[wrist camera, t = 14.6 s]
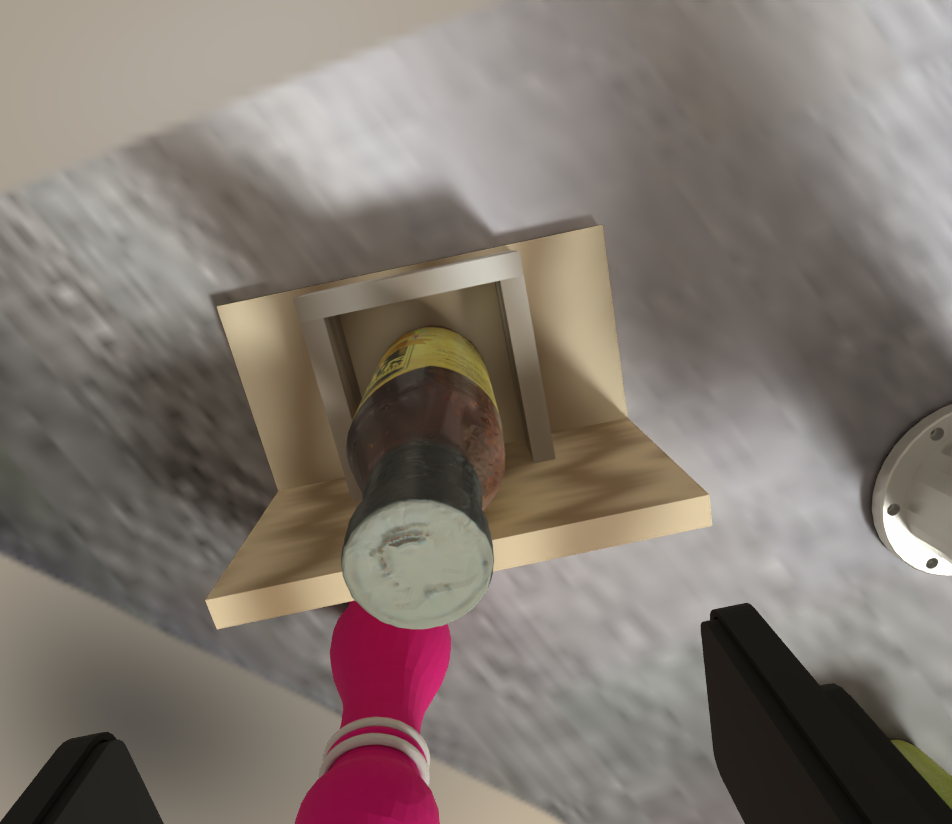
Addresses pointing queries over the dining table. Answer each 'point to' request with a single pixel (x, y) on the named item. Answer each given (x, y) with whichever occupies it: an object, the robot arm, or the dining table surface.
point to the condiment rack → (517, 397)
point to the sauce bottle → (424, 482)
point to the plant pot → (928, 770)
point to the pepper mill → (379, 724)
